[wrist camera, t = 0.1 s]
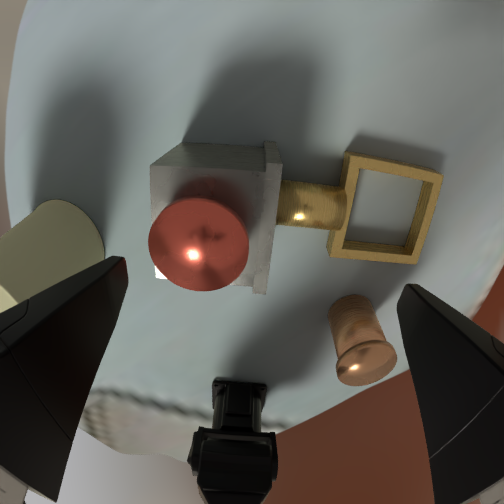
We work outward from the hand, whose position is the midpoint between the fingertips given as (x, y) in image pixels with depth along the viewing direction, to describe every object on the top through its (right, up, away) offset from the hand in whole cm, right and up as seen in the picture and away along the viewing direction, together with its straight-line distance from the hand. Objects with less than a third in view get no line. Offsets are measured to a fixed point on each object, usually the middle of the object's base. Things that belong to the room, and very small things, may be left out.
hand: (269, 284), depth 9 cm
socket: (+10, +5, +14) cm, 18 cm away
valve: (0, +5, +14) cm, 15 cm away
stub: (+9, -5, +19) cm, 22 cm away
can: (-18, +2, +16) cm, 25 cm away
